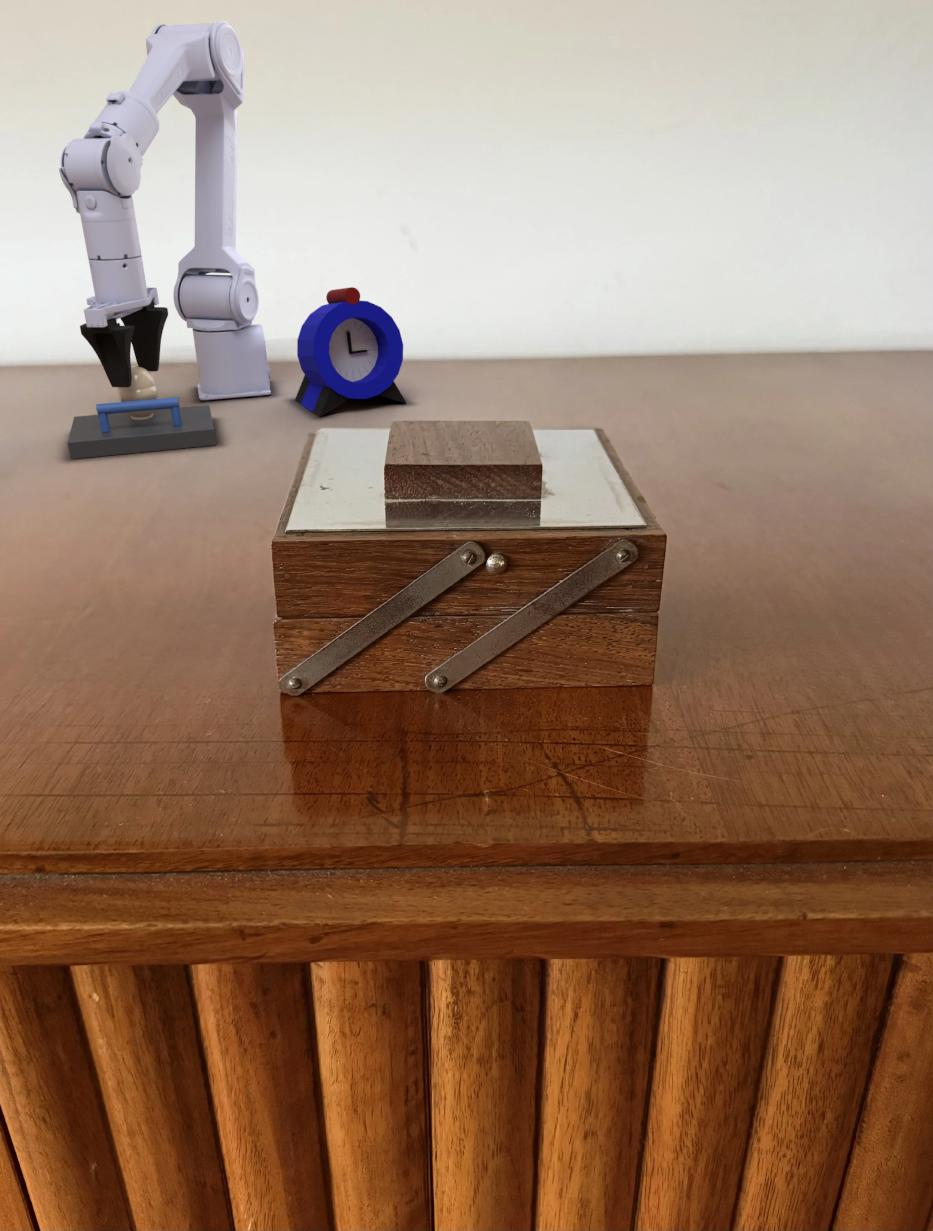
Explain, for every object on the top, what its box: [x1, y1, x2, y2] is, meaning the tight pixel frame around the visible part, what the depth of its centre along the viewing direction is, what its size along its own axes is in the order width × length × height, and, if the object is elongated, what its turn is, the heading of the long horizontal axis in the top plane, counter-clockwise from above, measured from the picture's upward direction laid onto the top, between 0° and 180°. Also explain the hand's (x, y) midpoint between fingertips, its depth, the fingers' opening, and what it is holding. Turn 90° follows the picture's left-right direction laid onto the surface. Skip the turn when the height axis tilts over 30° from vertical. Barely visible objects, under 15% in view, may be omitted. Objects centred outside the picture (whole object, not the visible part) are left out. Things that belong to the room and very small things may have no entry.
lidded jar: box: [116, 365, 159, 420], centre depth 117 cm, size 4×4×6 cm
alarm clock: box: [294, 286, 408, 418], centre depth 128 cm, size 12×12×15 cm
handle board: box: [67, 396, 217, 460], centre depth 116 cm, size 16×11×5 cm
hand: (135, 378), depth 116 cm, fingers open, 7 cm apart
